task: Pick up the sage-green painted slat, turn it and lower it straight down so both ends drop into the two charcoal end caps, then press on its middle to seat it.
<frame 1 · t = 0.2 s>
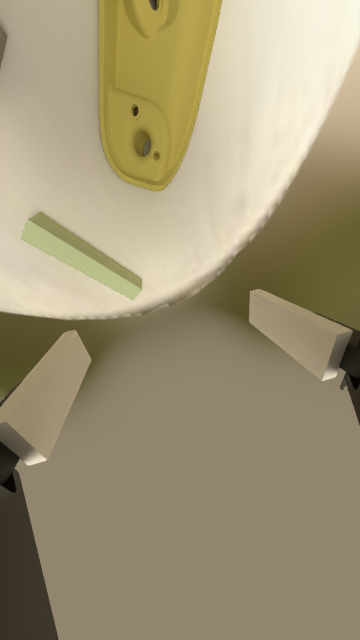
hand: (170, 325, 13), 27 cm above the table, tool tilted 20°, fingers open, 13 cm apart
slat: (95, 257, 35), on the table
plastic component: (150, 86, 22), on the table
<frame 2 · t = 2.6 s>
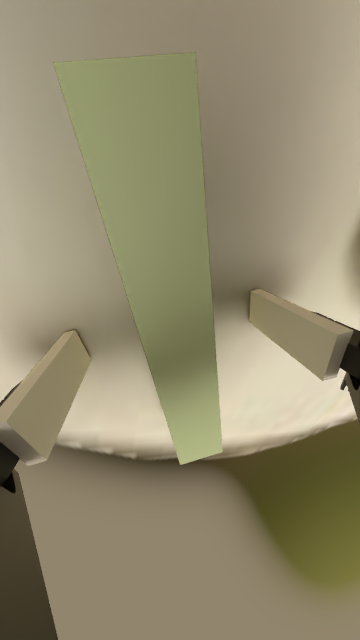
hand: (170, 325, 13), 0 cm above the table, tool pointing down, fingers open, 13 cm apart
slat: (171, 321, 13), on the table
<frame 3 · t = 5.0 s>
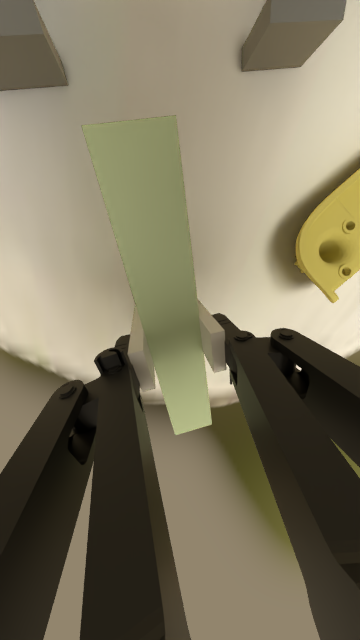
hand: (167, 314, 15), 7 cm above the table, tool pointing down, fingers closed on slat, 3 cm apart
slat: (166, 311, 15), point 6 cm above the table, touching gripper
plastic component: (337, 222, 22), on the table
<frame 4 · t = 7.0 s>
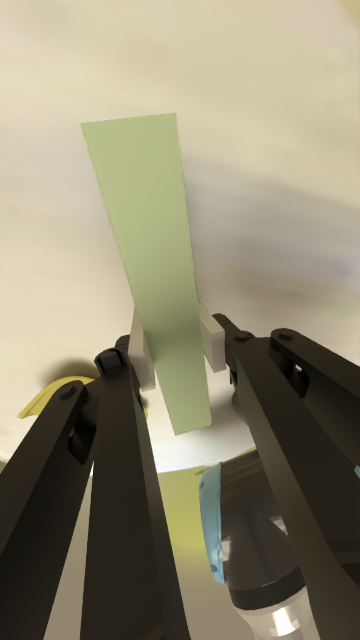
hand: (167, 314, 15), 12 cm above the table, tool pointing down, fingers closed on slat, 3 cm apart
slat: (166, 310, 15), point 12 cm above the table, touching gripper
plastic component: (99, 395, 34), on the table
when the fingers open (2 cm above the table, at t = 9.3 s): slat drops 1 cm, resting in end caps.
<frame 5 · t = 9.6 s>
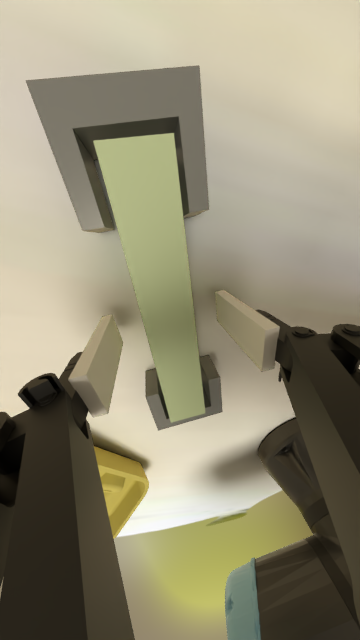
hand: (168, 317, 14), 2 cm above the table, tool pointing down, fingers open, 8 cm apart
slat: (164, 306, 16), resting in end caps
plastic component: (82, 457, 24), on the table
end caps: (165, 307, 16), on the table
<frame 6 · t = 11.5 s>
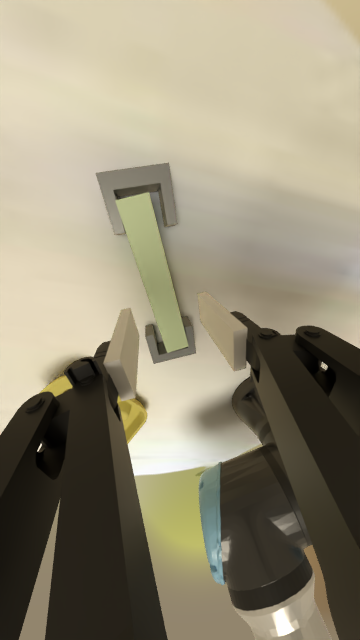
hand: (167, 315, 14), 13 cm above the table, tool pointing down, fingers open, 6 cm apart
slat: (157, 280, 26), resting in end caps
plastic component: (100, 394, 34), on the table
end caps: (157, 281, 26), on the table
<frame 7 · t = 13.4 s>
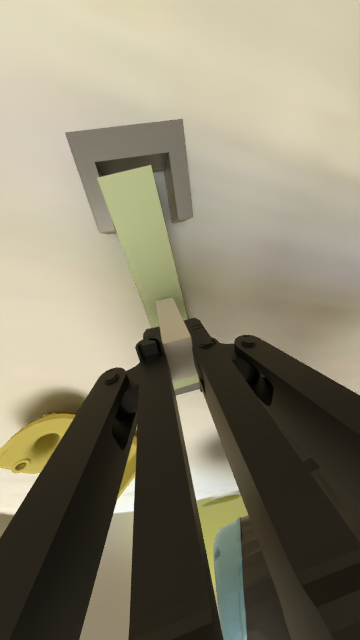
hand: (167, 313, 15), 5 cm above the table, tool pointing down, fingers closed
slat: (161, 294, 20), resting in end caps
plastic component: (89, 429, 27), on the table
end caps: (161, 295, 19), on the table
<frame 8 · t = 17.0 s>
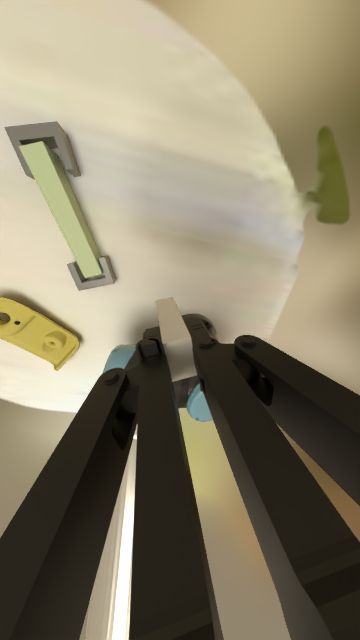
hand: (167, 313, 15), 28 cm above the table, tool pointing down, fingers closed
slat: (77, 222, 34), resting in end caps
plastic component: (38, 327, 42), on the table
end caps: (76, 222, 34), on the table
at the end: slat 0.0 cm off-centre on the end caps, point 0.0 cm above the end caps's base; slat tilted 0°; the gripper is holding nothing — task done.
